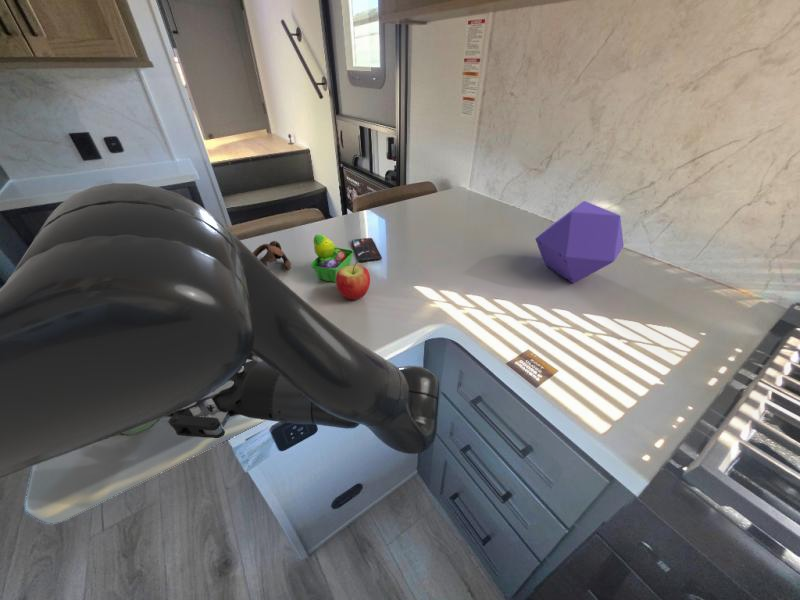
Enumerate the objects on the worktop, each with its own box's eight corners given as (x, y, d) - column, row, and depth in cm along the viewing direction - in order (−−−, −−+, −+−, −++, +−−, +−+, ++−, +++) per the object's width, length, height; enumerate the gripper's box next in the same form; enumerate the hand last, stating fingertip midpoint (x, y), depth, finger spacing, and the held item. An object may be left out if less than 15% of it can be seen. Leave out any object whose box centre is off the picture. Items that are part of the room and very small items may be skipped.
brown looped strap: (291, 276, 88) (270, 257, 82) (264, 288, 91) (242, 270, 85) (295, 248, 96) (277, 228, 90) (271, 259, 98) (251, 241, 92)
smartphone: (359, 260, 94) (351, 239, 105) (359, 262, 94) (351, 241, 106) (382, 257, 96) (372, 237, 107) (382, 259, 96) (372, 239, 108)
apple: (376, 299, 79) (375, 264, 73) (344, 309, 76) (340, 273, 70) (363, 283, 85) (361, 250, 79) (333, 292, 82) (328, 257, 76)
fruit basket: (337, 286, 84) (332, 247, 77) (308, 279, 86) (301, 242, 80) (355, 266, 93) (353, 230, 86) (328, 261, 95) (324, 225, 88)
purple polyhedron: (606, 300, 87) (661, 235, 79) (564, 287, 78) (620, 212, 69) (550, 262, 105) (590, 205, 96) (510, 247, 95) (550, 183, 86)
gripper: (304, 336, 46) (200, 325, 47) (254, 423, 34) (121, 405, 36) (312, 371, 50) (217, 360, 52) (270, 459, 39) (150, 441, 40)
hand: (177, 378), depth 44 cm, fingers open, 8 cm apart
